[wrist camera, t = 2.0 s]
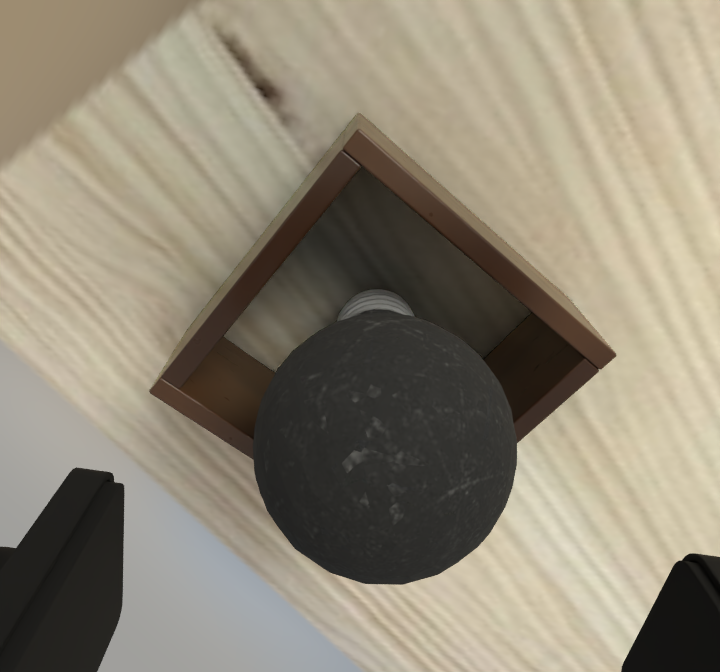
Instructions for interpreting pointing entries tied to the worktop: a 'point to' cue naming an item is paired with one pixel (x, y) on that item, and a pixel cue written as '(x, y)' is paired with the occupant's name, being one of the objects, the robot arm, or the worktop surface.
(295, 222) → the crate
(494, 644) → the worktop surface
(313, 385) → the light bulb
